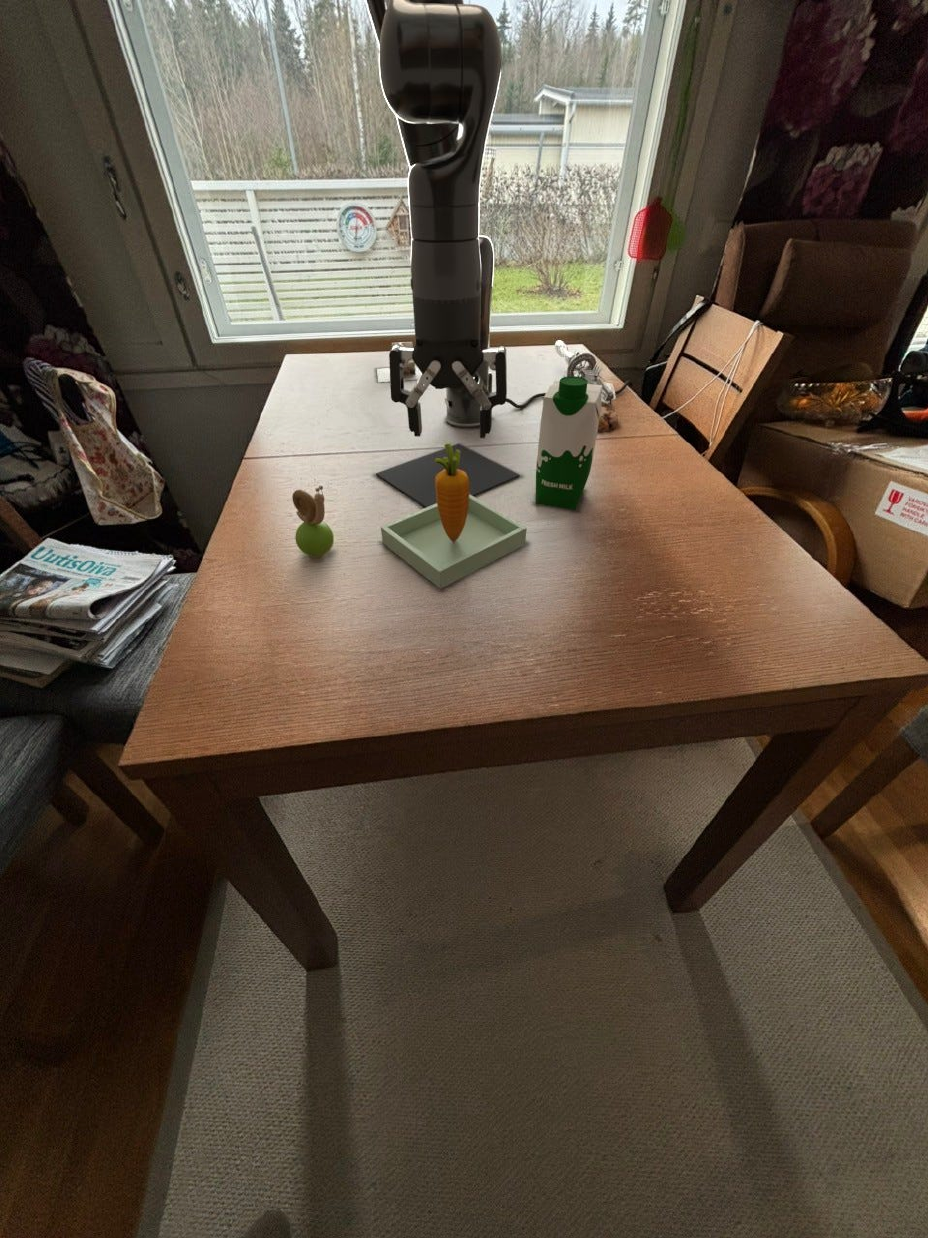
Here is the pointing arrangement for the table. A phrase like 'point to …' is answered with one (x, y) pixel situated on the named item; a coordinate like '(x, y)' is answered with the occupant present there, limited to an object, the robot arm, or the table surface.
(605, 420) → the cookie
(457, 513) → the carrot
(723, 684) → the table surface
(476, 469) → the mat
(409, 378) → the architectural model
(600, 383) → the spaceship
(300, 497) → the snail figurine
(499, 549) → the tray
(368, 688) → the table surface
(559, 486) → the milk carton
